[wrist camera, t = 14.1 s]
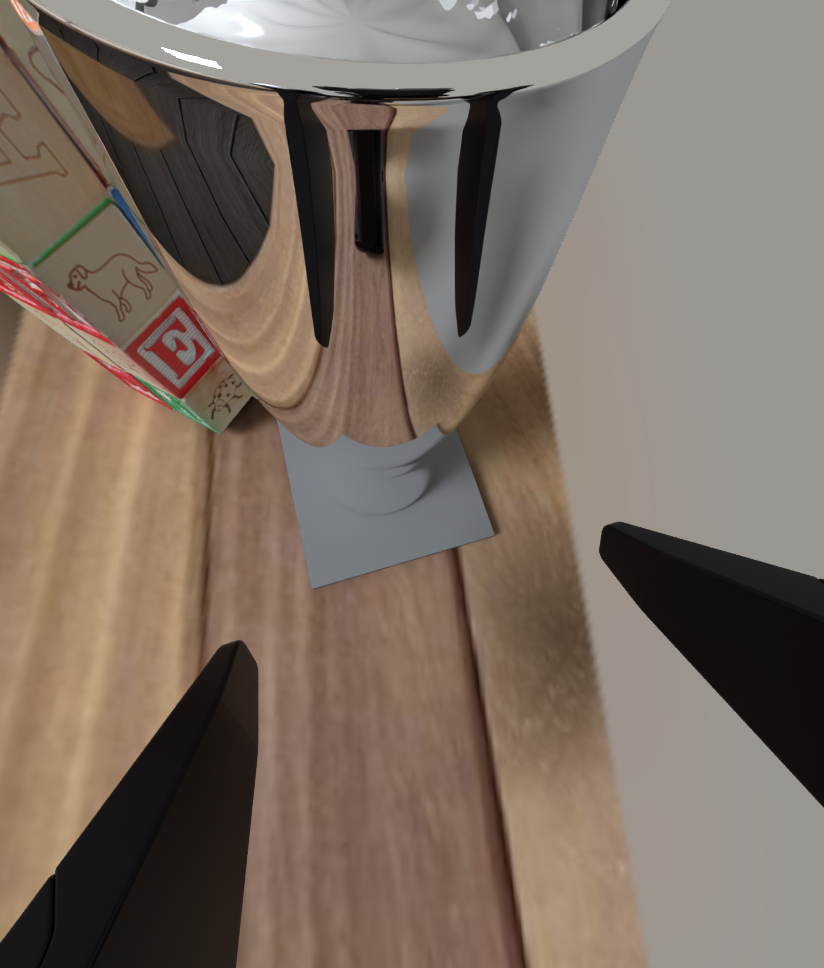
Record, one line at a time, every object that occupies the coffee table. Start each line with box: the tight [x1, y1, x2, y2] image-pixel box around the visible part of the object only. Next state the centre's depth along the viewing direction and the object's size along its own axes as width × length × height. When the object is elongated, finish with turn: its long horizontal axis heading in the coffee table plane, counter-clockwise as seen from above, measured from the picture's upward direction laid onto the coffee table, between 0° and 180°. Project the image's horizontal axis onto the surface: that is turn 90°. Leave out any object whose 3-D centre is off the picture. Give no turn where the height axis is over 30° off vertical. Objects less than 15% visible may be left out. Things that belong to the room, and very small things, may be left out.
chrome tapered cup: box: [9, 0, 671, 514], centre depth 10 cm, size 7×7×15 cm
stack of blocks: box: [0, 0, 252, 434], centre depth 15 cm, size 21×6×12 cm, turn 152°
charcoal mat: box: [277, 421, 495, 589], centre depth 18 cm, size 12×9×1 cm
